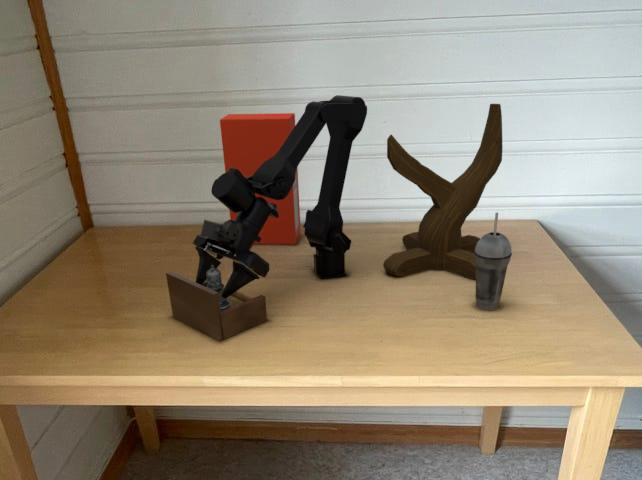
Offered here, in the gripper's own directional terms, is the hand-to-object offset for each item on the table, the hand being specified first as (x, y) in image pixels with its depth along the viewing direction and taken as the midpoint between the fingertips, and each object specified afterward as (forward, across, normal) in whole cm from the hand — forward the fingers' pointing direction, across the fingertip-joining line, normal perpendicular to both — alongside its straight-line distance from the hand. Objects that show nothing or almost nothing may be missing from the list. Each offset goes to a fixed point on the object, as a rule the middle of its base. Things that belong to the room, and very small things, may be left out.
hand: (209, 291), depth 128 cm
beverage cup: (-26, +37, +35) cm, 57 cm away
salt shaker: (+4, 0, +6) cm, 7 cm away
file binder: (-24, -30, +33) cm, 51 cm away
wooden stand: (-35, +15, +44) cm, 58 cm away
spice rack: (+4, 0, +6) cm, 7 cm away
